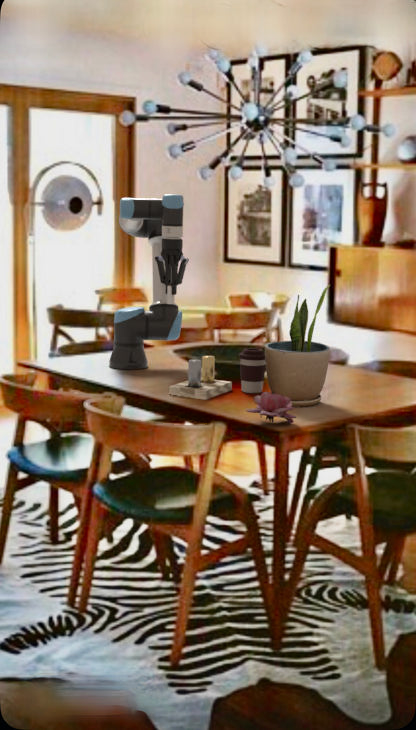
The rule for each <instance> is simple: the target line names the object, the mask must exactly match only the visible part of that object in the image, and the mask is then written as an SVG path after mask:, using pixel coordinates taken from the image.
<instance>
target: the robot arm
mask: <svg viewBox="0 0 416 730" xmlns="http://www.w3.org/2000/svg"><path fill="white" fill-rule="evenodd" d="M184 206H185V203H184V196H183V195H182V194H175V193H174V194H173V193H170V194H169V193H166V194H163V195H162V198H140V197H139V198H138V197H137V198H136V197H135V198H134V197H122V198H121V199H120V200H119V217H118V225H119V228H120V229H121V230H122V231H123V232H124V233H126V234H128V235H130V236H132V237H134V238H140V239H142V238H143V239H147V242H148V244H149V245H150V246H151V247H152V248H151V251H152V253H151V254H152V264H151V265H152V267H151V268H152V303H151V304H150V305H149V306H148V310H145V307H143V306H129V307H123V308H120V309H117V310H116V311H115V312H114V321H113V323H114V326H113V327H114V330H113V331H114V332H113V349H112V351H111V354H110V357H109V360H108V361H109V367H110V368H113V369H119V370H140V369H145V368H148V365H149V364H148V363H149V361H148V358H147V354H146V351H145V347H144V344H145V343H144V341H166V342H168V341H176V340H178V339H179V338H180V336H181V335H180V334H181V330H182V322H183V311H181V310H179V305H177V303H176V302H175V296H176V295H177V292H178V291H177V289H178V288H177V287H178V286H179V285H181V284H182V283H183V279H184V276H185V272H186V267H187V264H188V263H189V261H190V260H189V258H188V257H187V258H186V257H185V256H184V253H183V247H184V246H183V243H184V242H183V239H182V238H183V237H184ZM179 262H180V264H179Z"/></svg>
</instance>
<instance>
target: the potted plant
mask: <svg viewBox="0 0 416 730" xmlns="http://www.w3.org/2000/svg"><path fill="white" fill-rule="evenodd" d="M330 286H331V284H329V285H327V286H325V288H324V289H323V291H322V292H321V296H319V299H318V302H317V306H316V309H315V313H314V317H313V319H312V321H311V324H310V326H309V327H308V321H309V307H308V303H307V298H305V299H304V300H303V301H302V302H301V305H300V308H299V301H300V300H299V299H300V295H299V294H297V301H296V304H295V305H296V306H295V309H294V313H293V318H292V320H291V322H290V326H289V328H290V329H289V337H290V340H283V341H274V342H270V343H269V342H267V343H266V344H265V345H264V353H265V372H266V378H267V379H266V380H267V384H268V387H269V389H270V393H271V394H278V395H280V396H284V397H285V396H286V397H288V398H290V399H291V401H290V402H289V404H290V403H292V406H293V407H294V408H295V407H296V408H297V407H298V408H299V407H300V406H303V407H311V406H315V405H316V404H318V403H319V402H320V401H322V395H321V392H322V391H323V389H324V386H325V382H326V379H327V372H328V368H329V360H330V347H329V345H327V344H324V343H320V342H316V341H312V340H313V333H314V329H315V324H316V321H317V320H316V319H317V315H318V313H319V311H320V310H321V307H322V306H323V303H324V299H325V296H326V294H327V291H328V289H329V287H330ZM307 327H308V328H309V329H308V332H307ZM306 332H307V333H306ZM306 334H307V339H306ZM305 339H306V340H305ZM300 408H301V407H300Z"/></svg>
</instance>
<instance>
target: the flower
mask: <svg viewBox="0 0 416 730" xmlns="http://www.w3.org/2000/svg"><path fill="white" fill-rule="evenodd" d="M271 393H272V392H269V391H265V392H263V391H262V392H261V395H259V394H258V395H254V397H253V400H254V403H255V405H257V406H256V408H246V410H245V411H246V412H248V413H252V414H254V413H255V414H259V415H260V417H262V416H266V417H265V421H267V420H269V422H270V423H272V424H274V418H282V419H285V420H286V421H288V422H289V424H290V425H291V424H293V423H294V422H295V421H294V420H293V419H296V418H297V416H296V415H293V414H291V413H288V411H292V410H293V409H294V408H295V407H292V403H290V404H289V402H290V401H291V399H290V398H288V397H286V396H285V397H284V396H280V395H278V394H271Z"/></svg>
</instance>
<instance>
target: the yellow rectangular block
mask: <svg viewBox="0 0 416 730" xmlns="http://www.w3.org/2000/svg"><path fill="white" fill-rule="evenodd" d="M215 358H216V357H215V356H214V355H203V356H202V357H201V361H202V362H201V378H202V381H201V383H207V384H213V383H214V380H215V360H216V359H215Z"/></svg>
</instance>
